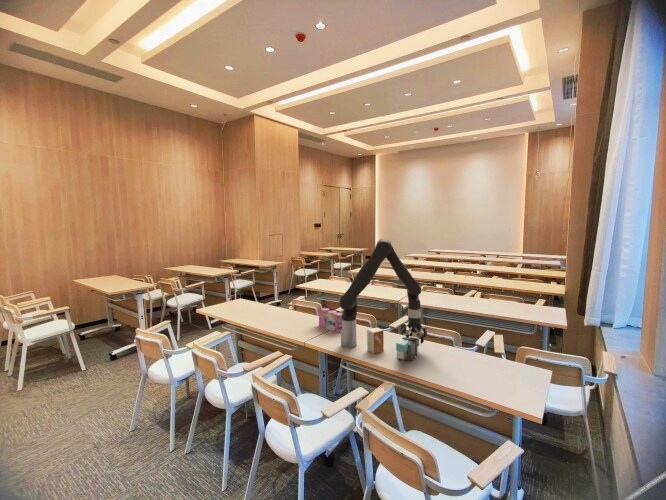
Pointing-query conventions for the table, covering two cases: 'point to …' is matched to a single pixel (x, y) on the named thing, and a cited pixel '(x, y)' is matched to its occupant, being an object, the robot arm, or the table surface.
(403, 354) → the shaft
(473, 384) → the table surface
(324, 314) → the gum box
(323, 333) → the table surface
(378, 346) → the small box
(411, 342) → the bearing blocks
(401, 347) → the block
